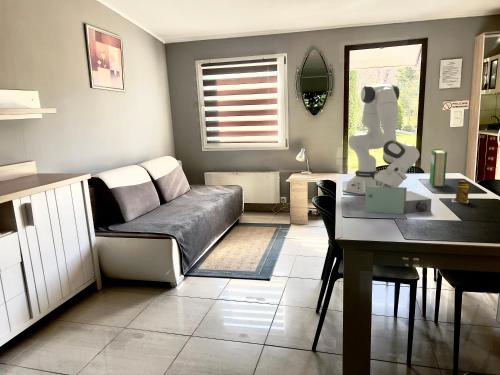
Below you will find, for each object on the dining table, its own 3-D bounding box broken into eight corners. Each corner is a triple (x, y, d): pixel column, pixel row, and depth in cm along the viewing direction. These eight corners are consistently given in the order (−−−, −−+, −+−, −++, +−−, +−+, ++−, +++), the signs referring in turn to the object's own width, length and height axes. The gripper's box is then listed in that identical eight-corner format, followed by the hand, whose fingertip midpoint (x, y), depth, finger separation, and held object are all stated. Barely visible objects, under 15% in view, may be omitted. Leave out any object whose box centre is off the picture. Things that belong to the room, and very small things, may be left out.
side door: (364, 212, 200) (365, 186, 197) (365, 210, 202) (366, 185, 199) (405, 214, 192) (406, 188, 189) (405, 213, 194) (406, 187, 191)
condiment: (468, 203, 209) (470, 182, 207) (451, 202, 213) (452, 181, 211) (468, 200, 215) (469, 180, 213) (451, 199, 219) (453, 179, 217)
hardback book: (444, 187, 250) (447, 152, 245) (432, 187, 253) (434, 152, 248) (440, 182, 266) (443, 149, 261) (429, 182, 269) (431, 149, 264)
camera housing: (387, 204, 213) (387, 192, 212) (409, 202, 215) (410, 191, 213) (407, 214, 192) (408, 201, 190) (433, 212, 193) (433, 199, 192)
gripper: (382, 164, 208) (365, 182, 209) (401, 170, 188) (382, 190, 189) (389, 172, 210) (372, 189, 210) (409, 178, 190) (390, 198, 191)
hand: (377, 190), depth 200 cm, fingers closed
